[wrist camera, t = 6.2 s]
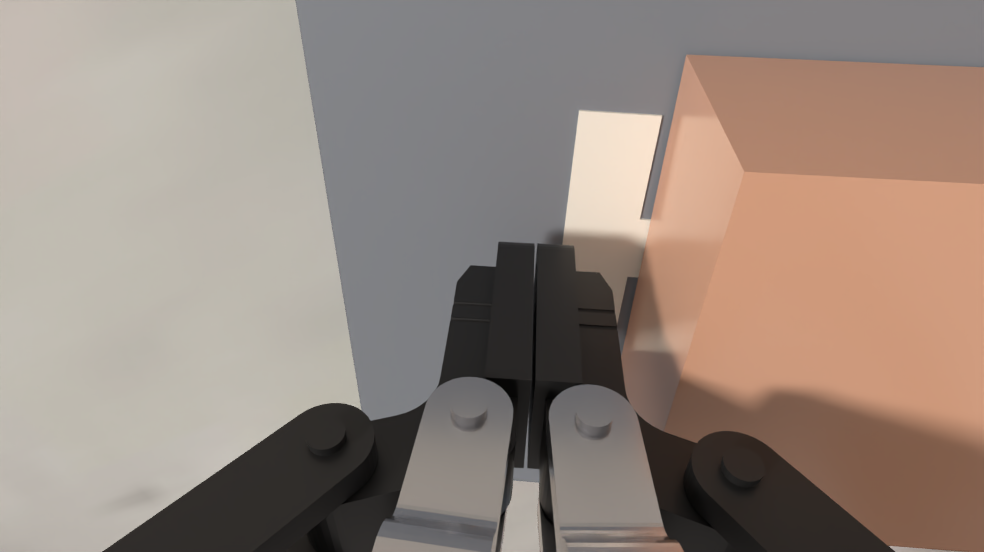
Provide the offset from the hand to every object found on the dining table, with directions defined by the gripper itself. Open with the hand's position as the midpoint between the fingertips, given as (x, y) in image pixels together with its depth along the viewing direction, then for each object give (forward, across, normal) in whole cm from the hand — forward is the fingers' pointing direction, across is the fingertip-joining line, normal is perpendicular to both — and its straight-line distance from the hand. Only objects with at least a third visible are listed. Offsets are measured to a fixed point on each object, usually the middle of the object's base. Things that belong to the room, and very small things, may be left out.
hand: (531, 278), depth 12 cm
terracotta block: (+1, -6, 0) cm, 6 cm away
